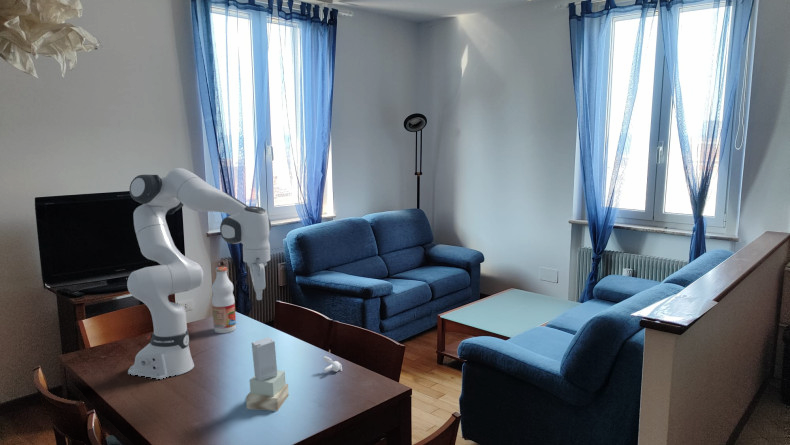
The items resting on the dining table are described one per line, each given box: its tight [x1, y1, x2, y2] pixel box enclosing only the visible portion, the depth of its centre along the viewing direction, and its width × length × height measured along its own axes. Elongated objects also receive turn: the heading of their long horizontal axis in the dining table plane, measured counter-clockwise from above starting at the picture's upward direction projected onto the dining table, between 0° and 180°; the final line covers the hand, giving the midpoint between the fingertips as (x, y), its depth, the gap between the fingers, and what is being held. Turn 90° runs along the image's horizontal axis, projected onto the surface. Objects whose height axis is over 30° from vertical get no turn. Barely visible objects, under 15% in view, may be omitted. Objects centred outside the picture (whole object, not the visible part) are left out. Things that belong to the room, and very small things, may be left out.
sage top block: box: [249, 370, 287, 396], centre depth 171 cm, size 8×8×4 cm
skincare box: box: [251, 336, 278, 381], centre depth 168 cm, size 6×4×12 cm
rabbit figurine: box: [322, 355, 343, 373], centre depth 193 cm, size 6×4×8 cm
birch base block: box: [245, 383, 289, 412], centre depth 171 cm, size 10×10×4 cm
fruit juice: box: [211, 266, 237, 334], centre depth 235 cm, size 9×9×28 cm
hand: (258, 295), depth 182 cm, fingers open, 8 cm apart
